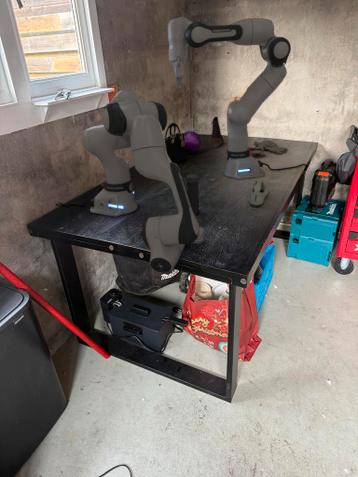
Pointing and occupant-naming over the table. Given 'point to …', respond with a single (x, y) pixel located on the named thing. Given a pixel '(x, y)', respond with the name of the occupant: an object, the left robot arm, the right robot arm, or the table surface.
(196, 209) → the black cylinder
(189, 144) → the decorative orb
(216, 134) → the boot
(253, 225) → the table surface
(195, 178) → the lid
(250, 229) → the table surface
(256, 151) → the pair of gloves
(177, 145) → the handbag
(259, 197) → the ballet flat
